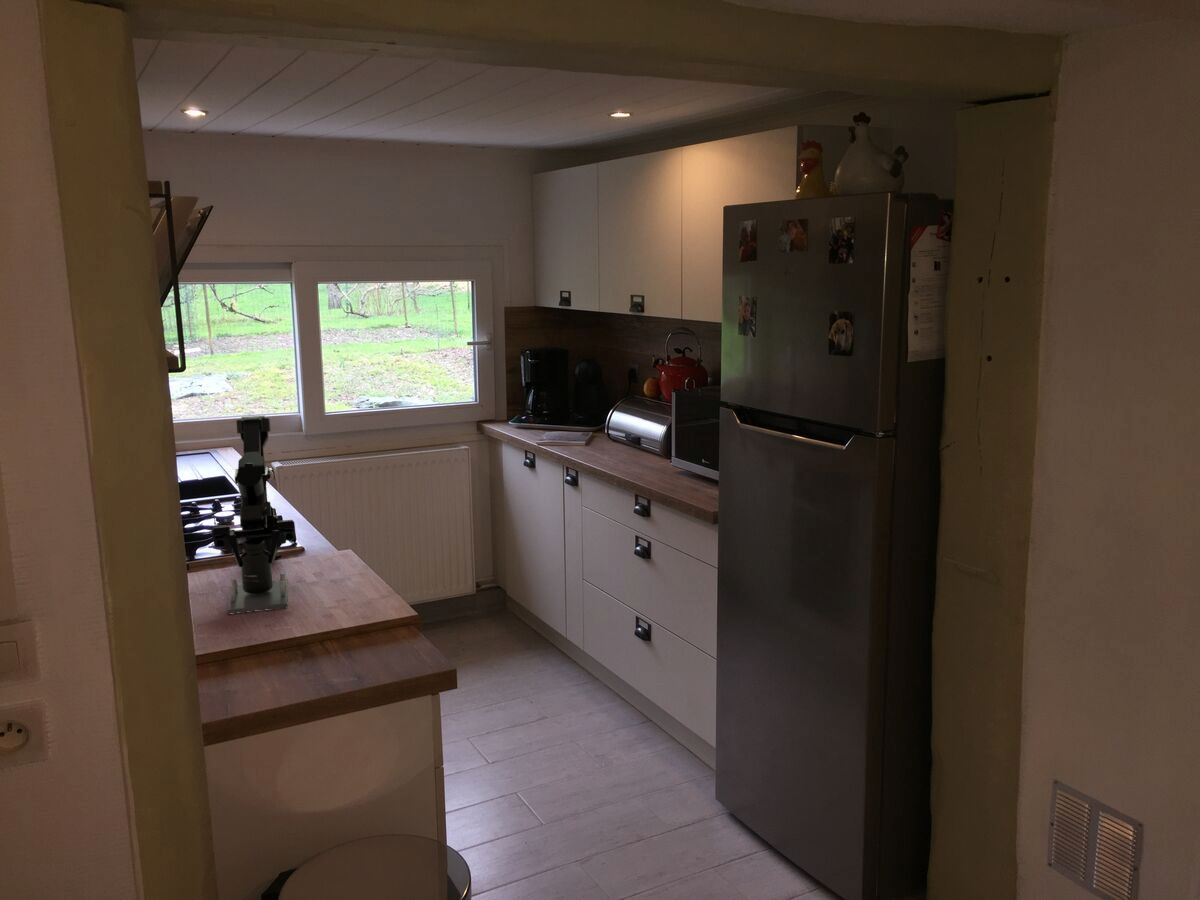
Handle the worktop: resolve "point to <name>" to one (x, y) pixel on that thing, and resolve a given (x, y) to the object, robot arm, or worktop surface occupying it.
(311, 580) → the worktop surface
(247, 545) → the supplement bottle
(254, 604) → the pin tray
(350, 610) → the worktop surface
